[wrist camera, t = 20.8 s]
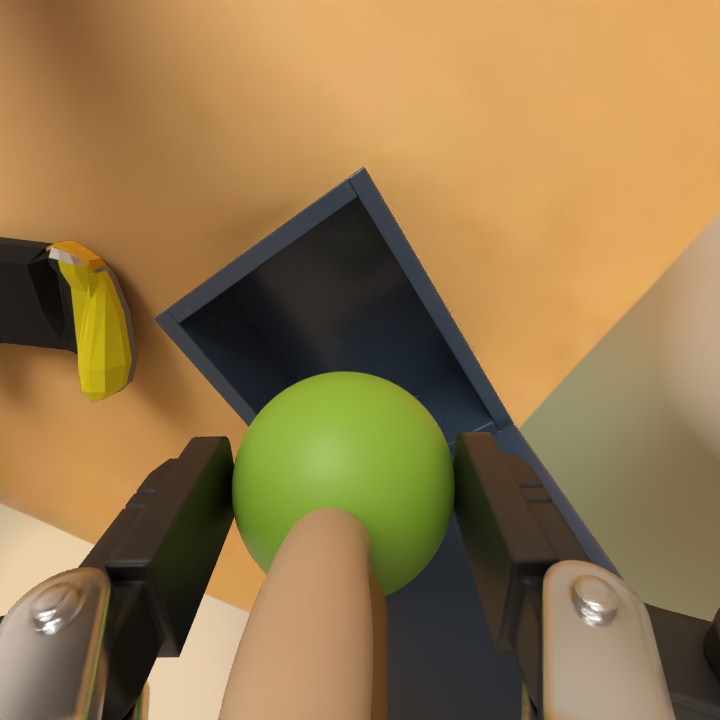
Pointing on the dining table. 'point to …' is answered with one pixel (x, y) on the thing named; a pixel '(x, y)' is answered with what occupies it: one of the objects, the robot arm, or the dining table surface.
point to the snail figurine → (332, 542)
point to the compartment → (334, 316)
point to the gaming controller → (68, 310)
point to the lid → (461, 626)
